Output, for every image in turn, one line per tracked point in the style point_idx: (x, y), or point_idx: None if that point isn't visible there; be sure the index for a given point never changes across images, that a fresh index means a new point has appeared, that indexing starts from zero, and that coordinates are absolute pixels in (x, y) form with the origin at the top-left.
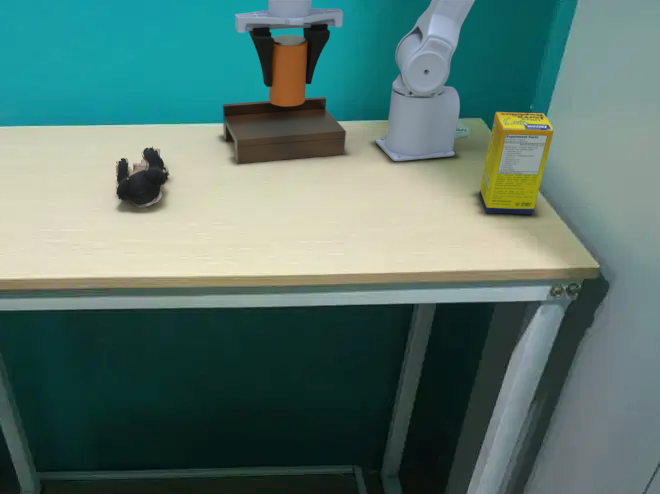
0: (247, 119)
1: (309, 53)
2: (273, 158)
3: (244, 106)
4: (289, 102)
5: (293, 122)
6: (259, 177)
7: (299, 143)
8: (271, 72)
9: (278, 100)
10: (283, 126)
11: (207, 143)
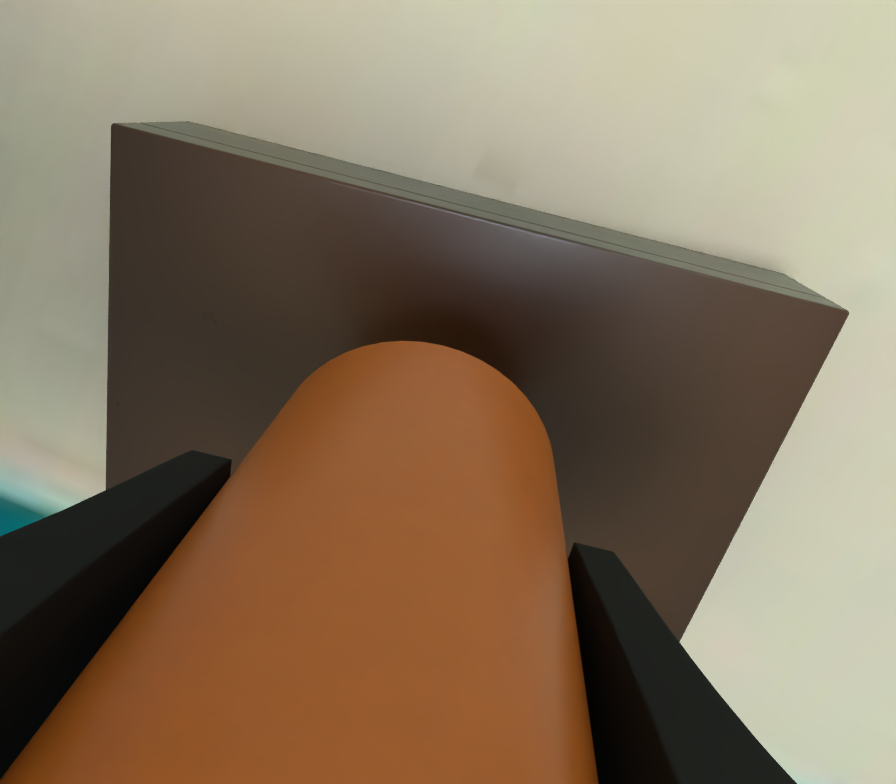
0: None
1: (21, 690)
2: (590, 225)
3: None
4: (458, 362)
5: None
6: (801, 29)
7: (439, 196)
8: (616, 627)
9: (532, 424)
10: None
11: (749, 561)
